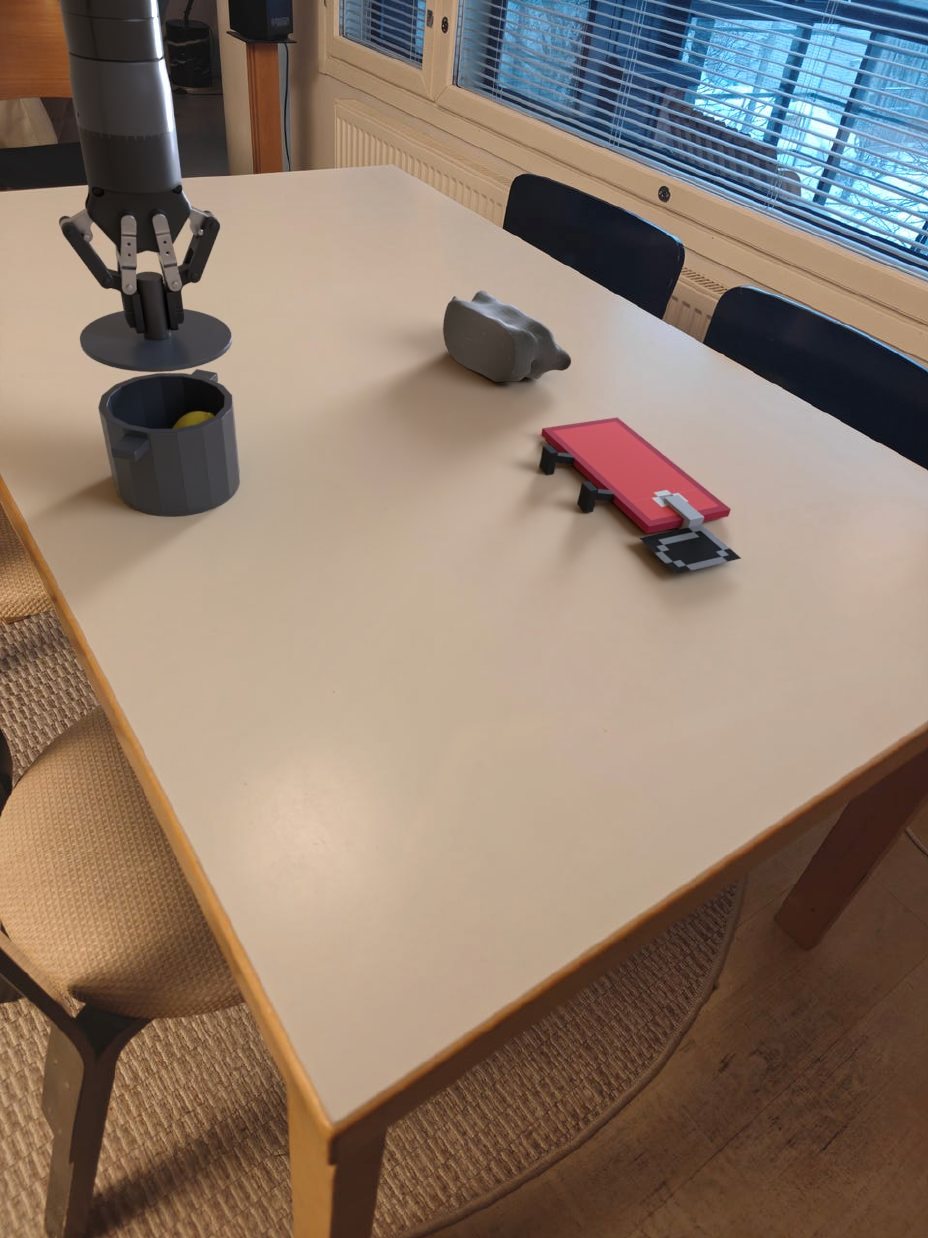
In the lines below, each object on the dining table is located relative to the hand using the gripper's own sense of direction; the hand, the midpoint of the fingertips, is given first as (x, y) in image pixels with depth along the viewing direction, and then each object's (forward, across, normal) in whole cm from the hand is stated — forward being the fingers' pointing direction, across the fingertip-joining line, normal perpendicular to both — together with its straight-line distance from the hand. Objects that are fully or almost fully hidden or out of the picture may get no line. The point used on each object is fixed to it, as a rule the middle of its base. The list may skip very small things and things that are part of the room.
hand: (156, 327), depth 80 cm
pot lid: (+1, 0, 0) cm, 1 cm away
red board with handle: (+17, +47, -18) cm, 53 cm away
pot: (+17, 0, 0) cm, 17 cm away
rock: (+17, +48, +18) cm, 54 cm away
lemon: (+16, 0, 0) cm, 16 cm away
